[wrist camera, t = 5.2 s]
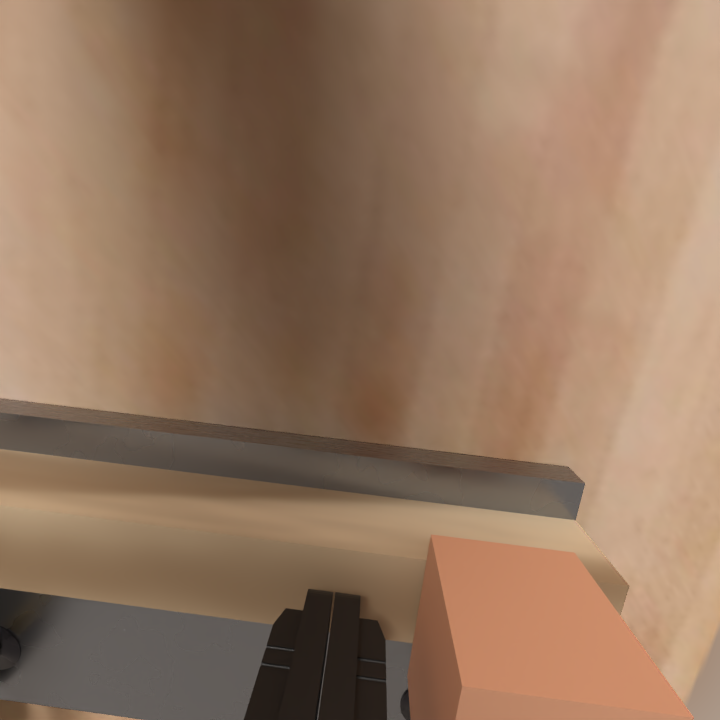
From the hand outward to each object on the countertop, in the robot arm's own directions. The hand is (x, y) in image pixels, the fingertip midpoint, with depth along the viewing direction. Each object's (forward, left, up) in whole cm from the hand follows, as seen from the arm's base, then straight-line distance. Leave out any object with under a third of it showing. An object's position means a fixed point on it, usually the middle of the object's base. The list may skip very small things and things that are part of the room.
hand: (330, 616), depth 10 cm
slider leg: (+3, +4, -3) cm, 6 cm away
